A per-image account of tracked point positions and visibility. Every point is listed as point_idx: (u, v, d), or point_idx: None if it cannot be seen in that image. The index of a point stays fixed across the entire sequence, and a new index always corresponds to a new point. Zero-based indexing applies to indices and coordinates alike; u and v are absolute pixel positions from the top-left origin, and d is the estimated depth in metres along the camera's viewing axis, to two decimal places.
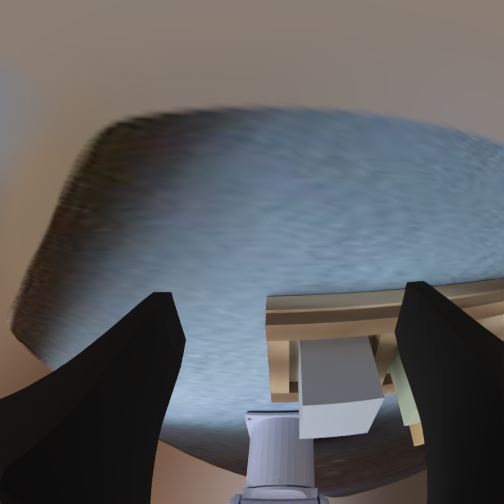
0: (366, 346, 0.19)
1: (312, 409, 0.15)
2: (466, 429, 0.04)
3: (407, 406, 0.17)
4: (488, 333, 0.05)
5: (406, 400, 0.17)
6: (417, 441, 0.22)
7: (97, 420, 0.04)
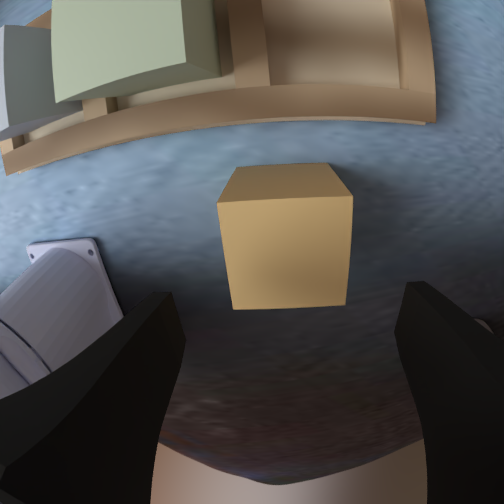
0: None
1: None
2: (466, 429, 0.04)
3: None
4: (488, 333, 0.05)
5: None
6: (230, 288, 0.13)
7: (97, 420, 0.04)
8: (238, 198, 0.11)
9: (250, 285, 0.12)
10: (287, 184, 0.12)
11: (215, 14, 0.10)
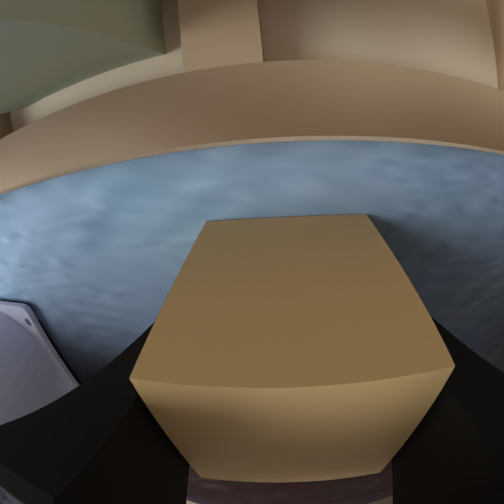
0: None
1: None
2: (425, 442, 0.04)
3: None
4: (454, 340, 0.05)
5: None
6: None
7: (142, 431, 0.04)
8: (178, 369, 0.04)
9: (224, 467, 0.06)
10: (300, 304, 0.05)
11: None
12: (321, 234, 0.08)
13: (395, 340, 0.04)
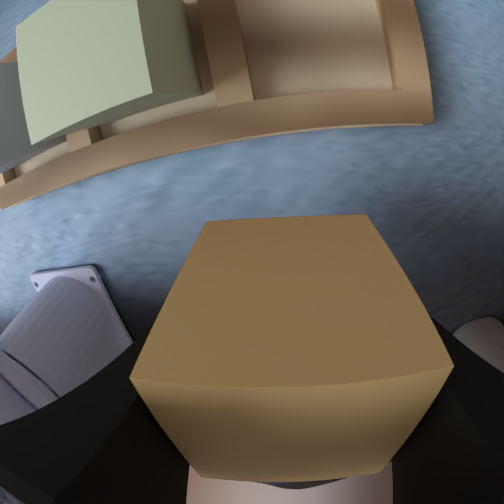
0: None
1: None
2: (425, 442, 0.04)
3: None
4: (454, 340, 0.05)
5: None
6: None
7: (142, 431, 0.04)
8: (178, 368, 0.04)
9: (224, 466, 0.06)
10: (300, 304, 0.05)
11: (190, 28, 0.10)
12: (321, 234, 0.08)
13: (394, 340, 0.04)
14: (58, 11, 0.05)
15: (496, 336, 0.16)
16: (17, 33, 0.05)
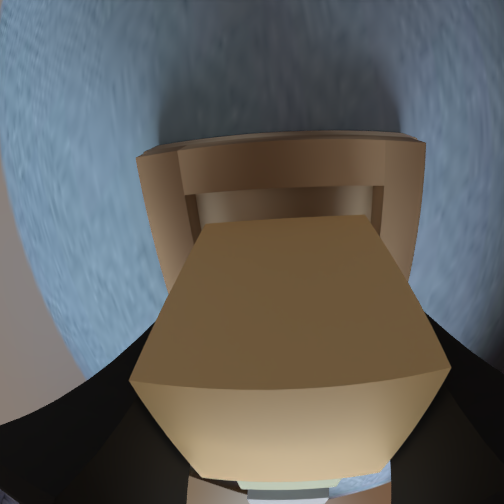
0: None
1: None
2: (424, 442, 0.04)
3: None
4: (453, 341, 0.05)
5: None
6: None
7: (142, 431, 0.04)
8: (177, 371, 0.04)
9: (224, 467, 0.06)
10: (297, 306, 0.05)
11: None
12: (319, 235, 0.08)
13: (391, 342, 0.04)
14: None
15: None
16: (248, 488, 0.12)
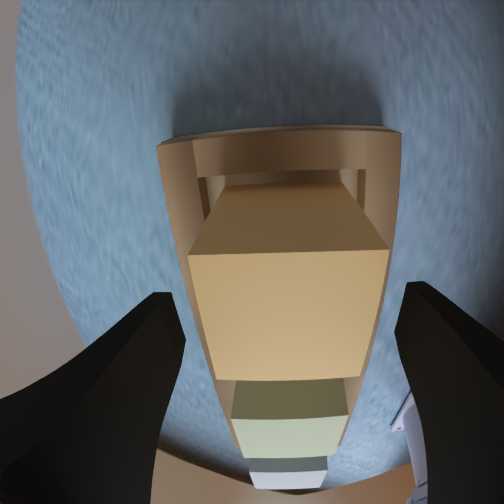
0: None
1: (261, 487, 0.17)
2: (466, 429, 0.04)
3: None
4: (488, 333, 0.05)
5: None
6: None
7: (97, 420, 0.04)
8: (219, 249, 0.07)
9: (238, 357, 0.09)
10: (292, 221, 0.09)
11: None
12: (307, 191, 0.11)
13: (350, 236, 0.07)
14: (254, 443, 0.12)
15: None
16: (250, 457, 0.13)
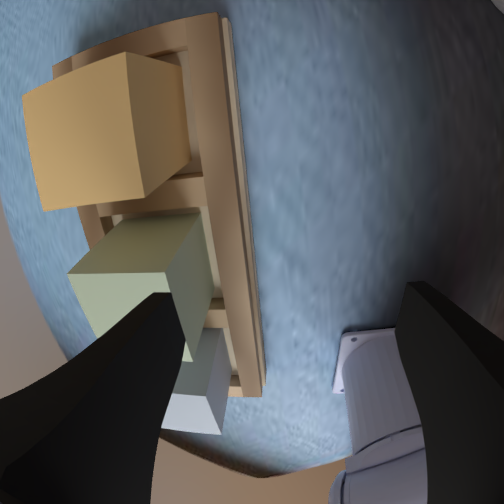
0: None
1: None
2: (466, 429, 0.04)
3: None
4: (488, 333, 0.05)
5: None
6: (39, 186, 0.09)
7: (97, 420, 0.04)
8: (38, 88, 0.08)
9: (50, 178, 0.09)
10: None
11: (143, 217, 0.16)
12: None
13: None
14: (100, 323, 0.12)
15: None
16: None
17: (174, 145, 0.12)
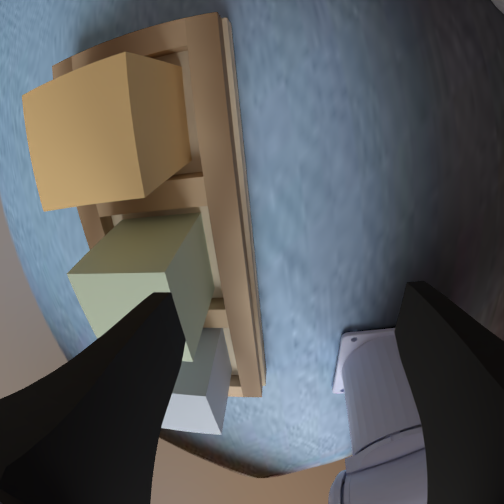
0: None
1: None
2: (466, 429, 0.04)
3: None
4: (488, 333, 0.05)
5: None
6: (39, 186, 0.09)
7: (97, 420, 0.04)
8: (38, 88, 0.08)
9: (50, 178, 0.09)
10: None
11: (143, 217, 0.16)
12: None
13: None
14: (100, 323, 0.12)
15: None
16: None
17: (174, 145, 0.12)
